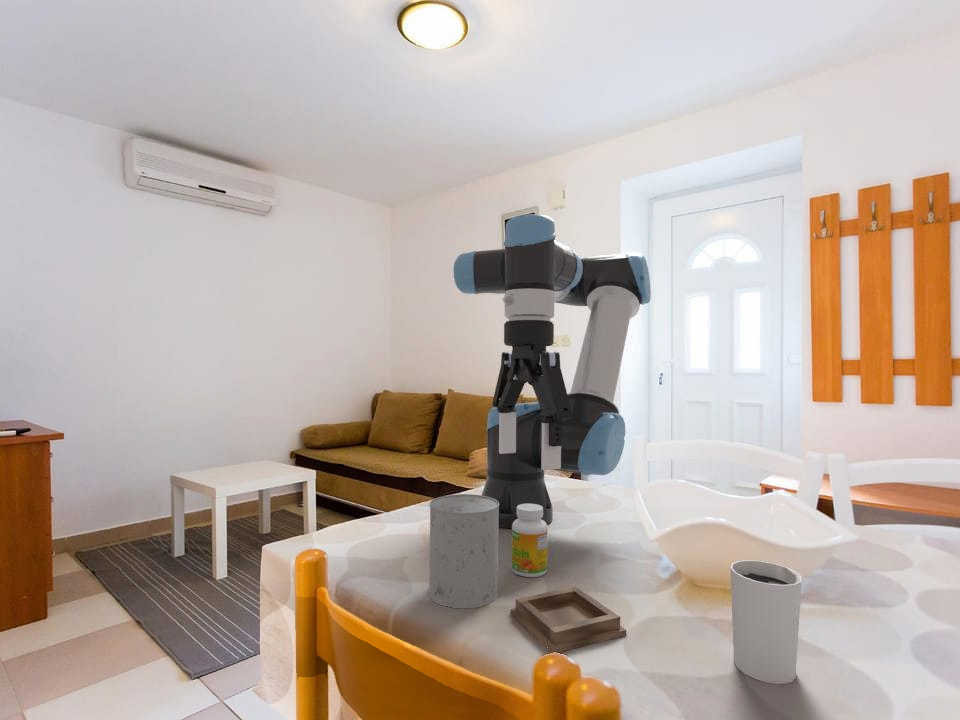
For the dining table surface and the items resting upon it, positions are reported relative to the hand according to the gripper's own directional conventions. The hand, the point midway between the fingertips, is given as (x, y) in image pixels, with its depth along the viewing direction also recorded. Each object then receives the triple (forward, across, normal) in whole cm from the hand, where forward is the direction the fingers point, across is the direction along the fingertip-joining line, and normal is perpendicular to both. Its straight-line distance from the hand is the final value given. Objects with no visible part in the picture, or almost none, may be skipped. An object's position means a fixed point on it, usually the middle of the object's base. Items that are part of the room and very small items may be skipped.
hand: (527, 460), depth 81 cm
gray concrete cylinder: (+17, +3, -12) cm, 21 cm away
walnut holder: (+17, +16, -3) cm, 24 cm away
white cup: (+17, +32, +11) cm, 38 cm away
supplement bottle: (+17, 0, 0) cm, 17 cm away
